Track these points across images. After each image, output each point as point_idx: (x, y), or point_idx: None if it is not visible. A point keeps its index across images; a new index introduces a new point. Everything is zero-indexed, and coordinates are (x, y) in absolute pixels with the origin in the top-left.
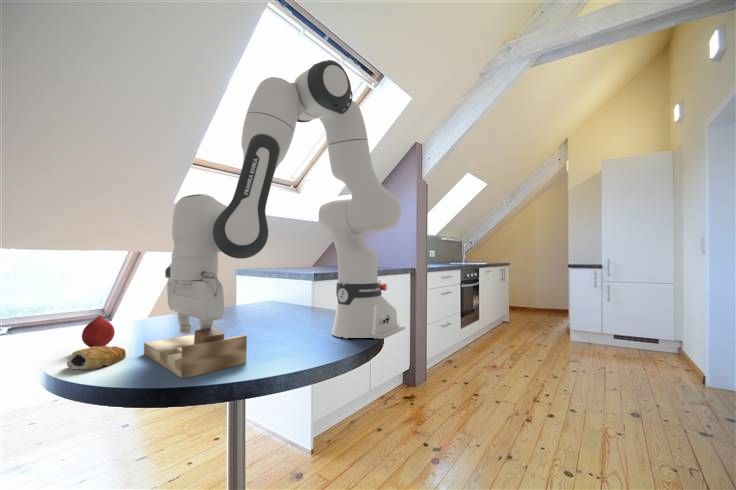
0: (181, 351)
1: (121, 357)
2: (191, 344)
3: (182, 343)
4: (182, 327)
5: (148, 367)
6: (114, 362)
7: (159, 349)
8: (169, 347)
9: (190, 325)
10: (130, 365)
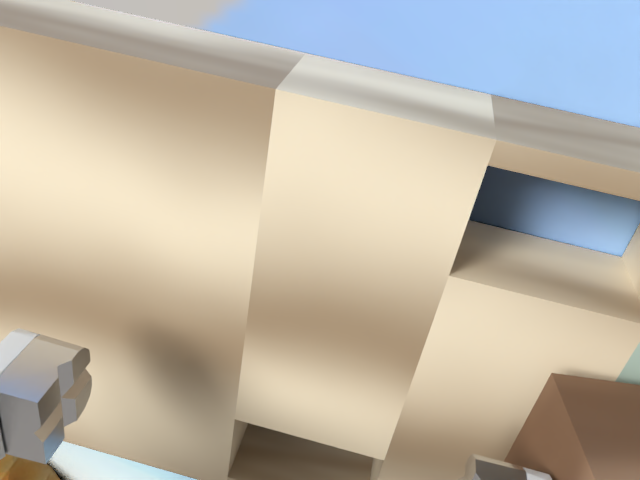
0: (338, 445)
1: None
2: (207, 312)
3: (115, 318)
4: (54, 451)
5: None
6: (52, 473)
7: (168, 461)
8: (166, 416)
9: (43, 403)
10: (149, 468)
